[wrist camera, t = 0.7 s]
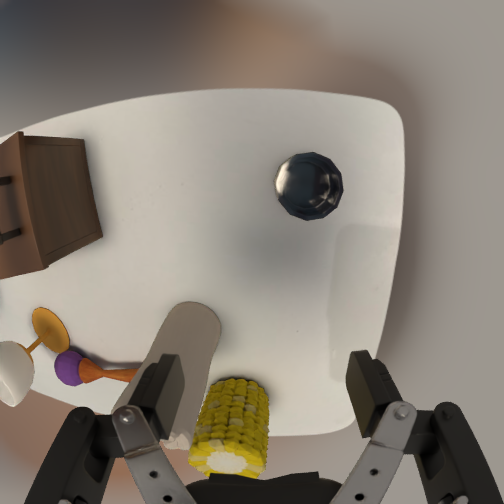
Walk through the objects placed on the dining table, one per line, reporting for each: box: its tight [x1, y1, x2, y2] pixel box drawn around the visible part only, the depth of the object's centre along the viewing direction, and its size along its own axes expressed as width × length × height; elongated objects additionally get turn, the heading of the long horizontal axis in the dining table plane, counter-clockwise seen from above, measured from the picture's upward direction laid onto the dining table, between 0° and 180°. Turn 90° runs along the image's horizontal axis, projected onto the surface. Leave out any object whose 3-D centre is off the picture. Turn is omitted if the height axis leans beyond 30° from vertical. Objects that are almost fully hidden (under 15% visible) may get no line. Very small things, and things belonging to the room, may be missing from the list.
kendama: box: [54, 350, 139, 386], centre depth 36 cm, size 6×6×20 cm
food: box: [188, 378, 269, 478], centre depth 32 cm, size 15×12×10 cm
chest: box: [24, 136, 103, 265], centre depth 26 cm, size 20×13×12 cm, turn 100°
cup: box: [0, 307, 70, 407], centre depth 30 cm, size 9×9×16 cm
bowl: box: [274, 152, 344, 221], centre depth 27 cm, size 6×6×5 cm
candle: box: [111, 302, 221, 450], centre depth 27 cm, size 7×14×20 cm, turn 155°
